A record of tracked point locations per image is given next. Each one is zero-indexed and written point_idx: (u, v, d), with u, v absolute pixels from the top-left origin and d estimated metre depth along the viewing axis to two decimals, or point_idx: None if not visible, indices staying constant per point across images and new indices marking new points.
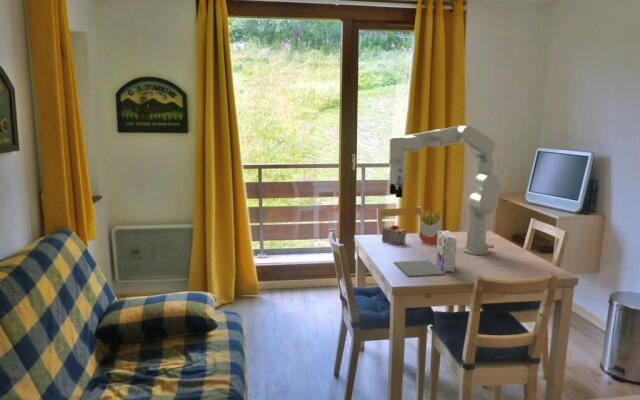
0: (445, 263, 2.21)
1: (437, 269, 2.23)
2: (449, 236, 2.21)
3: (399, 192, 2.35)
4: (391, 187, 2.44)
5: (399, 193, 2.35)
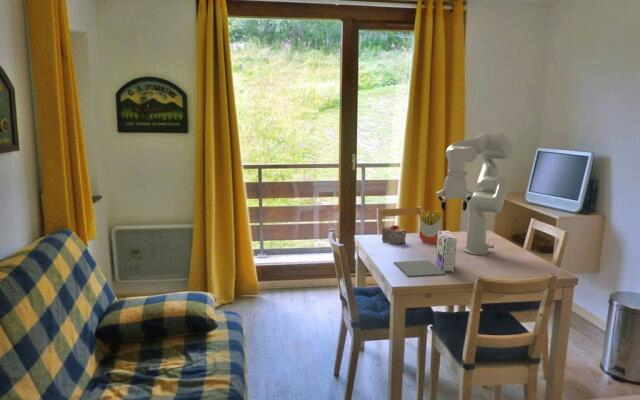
0: (445, 263, 2.21)
1: (437, 269, 2.23)
2: (449, 236, 2.21)
3: None
4: (445, 203, 2.26)
5: None
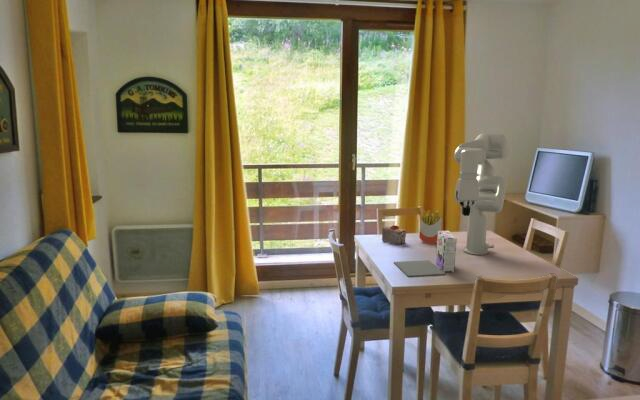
0: (445, 263, 2.21)
1: (437, 269, 2.23)
2: (449, 236, 2.21)
3: None
4: None
5: None
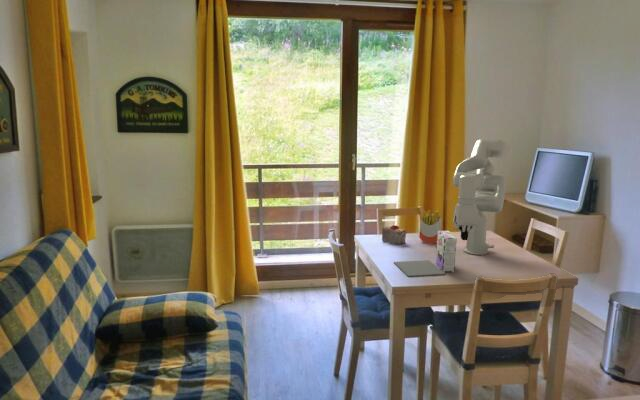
0: (445, 263, 2.21)
1: (437, 269, 2.23)
2: (449, 236, 2.21)
3: None
4: None
5: None
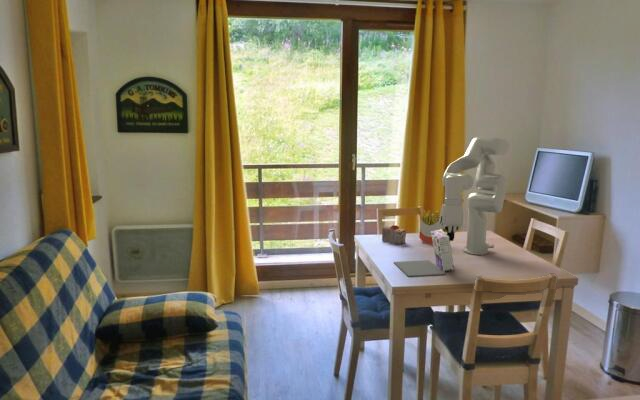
0: (443, 263, 2.21)
1: (437, 269, 2.23)
2: (442, 235, 2.21)
3: None
4: None
5: None
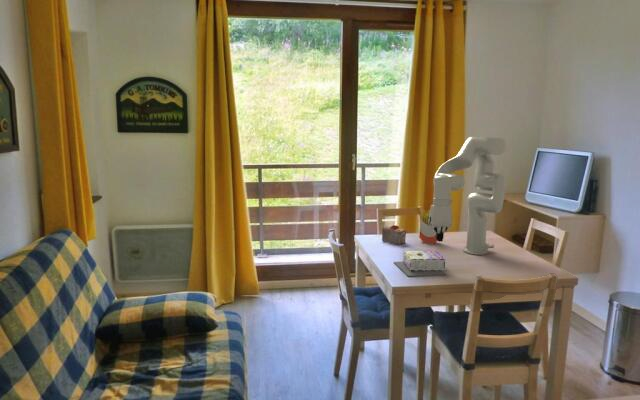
0: (436, 268, 2.21)
1: None
2: (408, 263, 2.22)
3: None
4: None
5: None
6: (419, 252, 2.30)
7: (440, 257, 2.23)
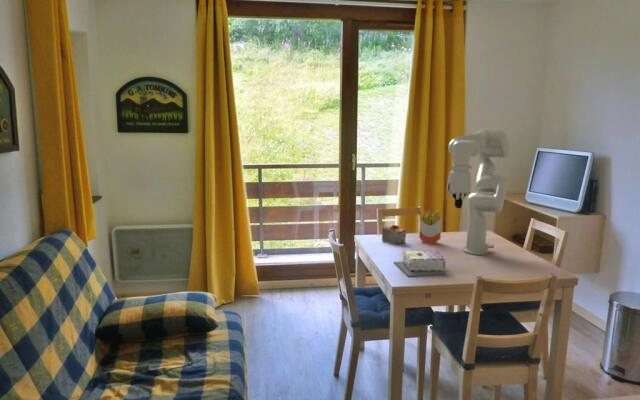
0: (436, 268, 2.21)
1: None
2: (408, 263, 2.22)
3: None
4: None
5: None
6: (419, 252, 2.30)
7: (440, 257, 2.23)
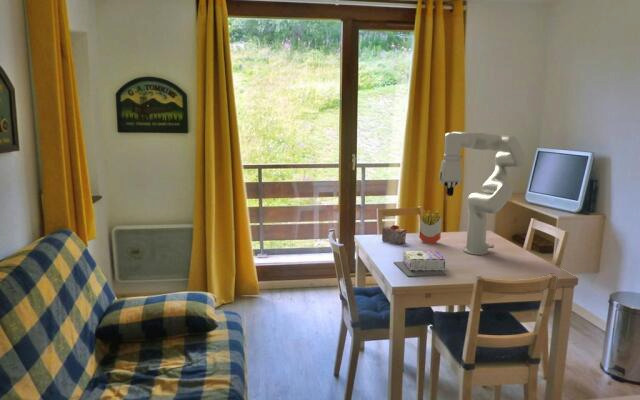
0: (436, 268, 2.21)
1: None
2: (408, 263, 2.22)
3: None
4: None
5: None
6: (419, 252, 2.30)
7: (440, 257, 2.23)
